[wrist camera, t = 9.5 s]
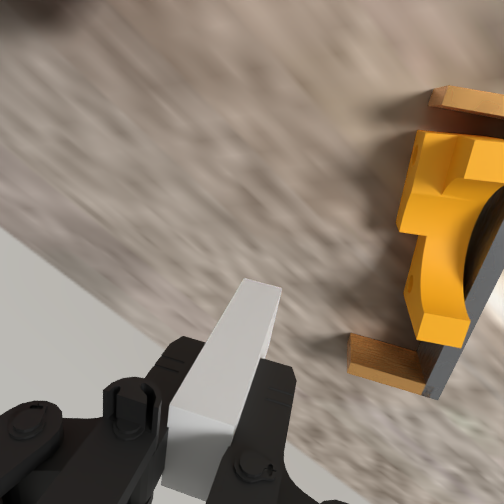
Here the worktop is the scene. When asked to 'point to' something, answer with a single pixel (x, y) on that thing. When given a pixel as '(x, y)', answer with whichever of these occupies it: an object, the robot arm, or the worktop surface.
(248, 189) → the worktop surface
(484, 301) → the keeper bracket
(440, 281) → the pipe clamp
